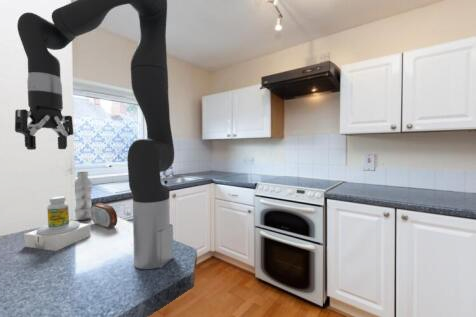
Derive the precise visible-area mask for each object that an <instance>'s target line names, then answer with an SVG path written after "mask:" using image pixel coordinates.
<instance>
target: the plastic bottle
mask: <svg viewBox="0 0 476 317" xmlns="http://www.w3.org/2000/svg"><path fill="white" fill-rule="evenodd" d="M76 177H77V179H76V180H75V182H74V183H75V191H74V195H75V208H74V212H75V216H74V219H75V221H85V220H88V219H92V218H91V206H92V205H93V204H92V191H93V190H92V189H93V183H92V181H91V179H90V178H89V172H88V171H78V172H77V176H76Z"/></svg>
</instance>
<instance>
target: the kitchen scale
mask: <svg viewBox="0 0 476 317" xmlns="http://www.w3.org/2000/svg"><path fill="white" fill-rule="evenodd" d="M89 237H91V223H82V222H79V220H69V225H68V226H66V227H63V228H59V229H50V228H49V227H48V223H47V224H45V225H42V226H39V227H38V228H37V229H35V230H32V231H29V232H26V233H24V247H25V246H26V247H25V248H31V249H40V250H47V251H54V252H58V251H60V250H61V249H64V248H66V247H67V246H70V245H73V244H74V243H76V242H77V243H78V242H79V241H81V240H84V239H86V238H89Z"/></svg>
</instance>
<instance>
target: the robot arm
mask: <svg viewBox="0 0 476 317" xmlns="http://www.w3.org/2000/svg"><path fill="white" fill-rule="evenodd" d="M123 5H124V6H125V5H129V6H130V7H132V9H133V10H134V11H135V12H136V13H137V15H138V20H139V32H140V33H139V41H138V44H137V46H136V47H135V50H134V52H133V53H132V57H131V60H130V80H131V81H130V82H131V89H132V93H133V96H134V98H135V100H136V102H137V105H138V107H139V108H140V111H141V112H142V115H143V117H144V121H145V125H146V126H145V127H146V138H139V139H136V140H134V141H133V142H132V143H131V144H130V146H129V149H128V152H127V158H126V159H127V162H126V163H127V174H128V175H127V176H128V185H129V189H130V191H131V194H132V223H133V224H132V227H133V228H132V229H133V232H132V234H133V265H134V267H136V268H137V269H140V270H153V269H162V268H164V266H166V265H167V264H168V263H169V262H170V261H171V260H172V259H173V258H174V224H173V223H170V222H171V221H170V220H171V219H170V218H171V217H170V216H171V214H170V213H171V211H170V205H171V204H170V202H171V201H170V188H169V187H168V186H167V185H164V184H163V183H162V181H161V173H162V172H166V171H168V170H169V169H170V168H172V166H173V164H174V161H175V160H174V159H175V146H174V140H173V134H172V126H171V118H170V114H171V113H170V102H169V101H170V99H169V74H168V73H169V71H168V69H169V68H168V54H167V39H166V35H167V34H166V33H167V21H168V20H167V19H168V18H167V17H168V0H75V1H72V2H70V3H68V4H66V5H63V6H61V7H58V8H56V9H54V10H53V11H52V13H51V20H52V22H51V21H49V20H48V19H45V18H43V17H41V16H40V15H38V14H36V13H33V12H23V13H22V14H21V15H20V16H19V18H18V20H17V26H16V27H17V32H18V33H17V34H18V35H19V38H20V41H21V45H22V47H23V50H24V52H25V55H26V58H27V82H26V83H27V102H28V104H27V105H28V107H29V110H27V109H15V111H14V113H15V114H14V119H15V120H14V131H15V133H19V134H21V135H23V136H24V146H25V148H26V149H27V150H28V151H29V150H36V149H37V142H36V141H37V140H36V138H37V137H36V133H37V132H38V131H39V130H41V129H51V130H52V131H54V132H55V133H56V134H57V149H58V150H66V148H67V147H68V137H69V136H73V135H74V125H73V123H74V122H73V116H72V115H63V114H62V111H63V108H64V107H63V106H64V104H63V103H64V102H63V83H62V80H61V62H60V60H59V59H58V58H57V56H55V55H54V54H52V53H51V52H50V51H49V50H52V51H53V50H54V51H57V50H63V49H64V48H66V47H67V46H68V45H70V43H71V42H73V41H74V40H75V39H76V38H77V37H79V36H82V35H84V34H87V33H90V32H92V31H93V30H94V31H95V30H96V29H98V28H99V27H100V26H101V24H103V21H104V20H105V19H106V16H107V15H108V13H109V12H110V11H112V10H113V9H115V8H117V7H120V6H123ZM29 118H30V122H28V120H29Z"/></svg>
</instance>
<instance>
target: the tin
mask: <svg viewBox="0 0 476 317" xmlns="http://www.w3.org/2000/svg"><path fill="white" fill-rule="evenodd" d="M90 219H91V220H92V222H93V223H94V224H95V225H97V226H100V227H103V228H105V229H111V228H113V227H114V228H115V227H116V226H117V224H118V215H117V211H116V210H115V208H114V207H113V206H112V205H109V204H106V203H102V202H98V203H95V204H92V206H91V218H90Z"/></svg>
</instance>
